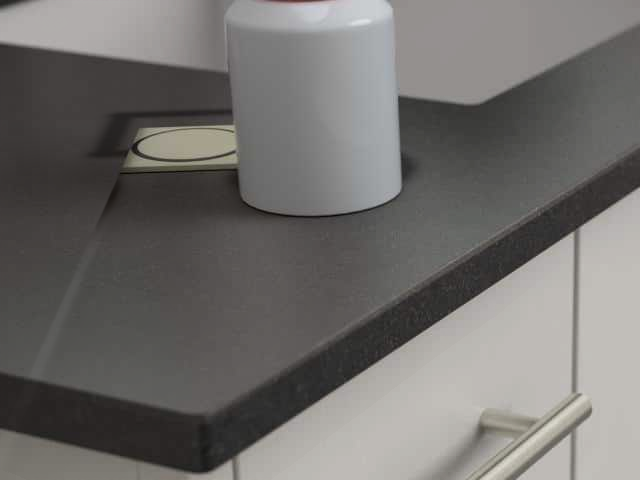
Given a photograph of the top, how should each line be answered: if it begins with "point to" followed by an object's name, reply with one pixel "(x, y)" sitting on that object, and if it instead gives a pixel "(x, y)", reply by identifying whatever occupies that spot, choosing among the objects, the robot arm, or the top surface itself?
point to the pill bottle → (314, 104)
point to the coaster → (182, 149)
